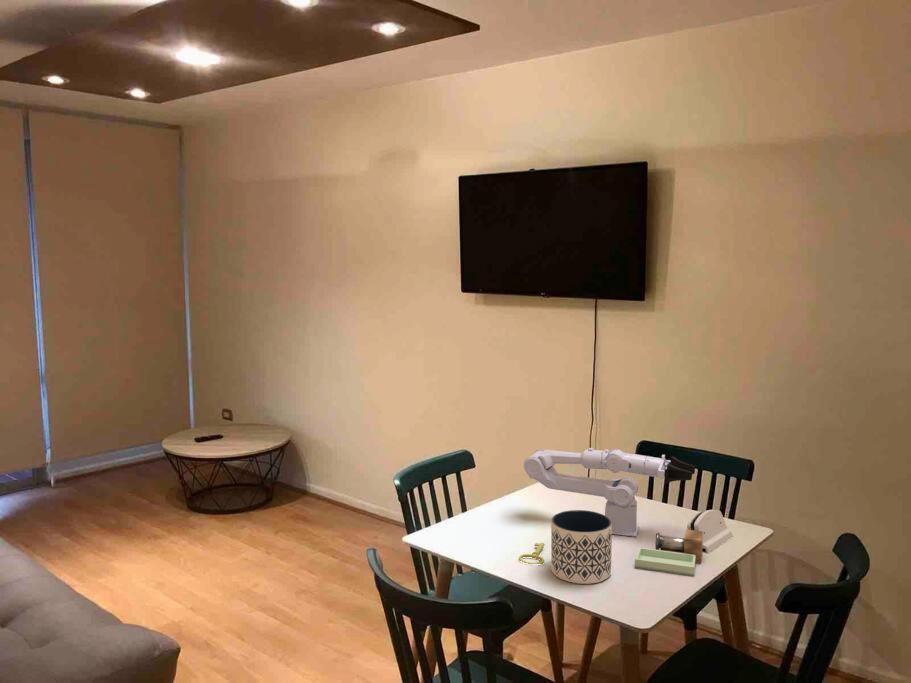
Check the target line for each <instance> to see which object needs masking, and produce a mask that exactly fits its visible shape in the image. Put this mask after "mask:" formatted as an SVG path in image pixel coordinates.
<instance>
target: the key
mask: <svg viewBox="0 0 911 683" xmlns="http://www.w3.org/2000/svg"><path fill="white" fill-rule="evenodd" d="M534 546H535V547H537V548H536V550H534V551H533V552H532V553H523V554H520V555H519V557H518V561H519V560H520V561H522V562H524V563H528V564H543V563H544V564H545V563H546V562H545V561H546V560H545V558H544V557H543V556H540V555H539V554H540V552H541V551H542V550H543V549H544V547H545V543H544V542H541V543H539V542H535V543H534ZM523 557H532V558H536V559H535V560H537V559H540V560H541V561H540V560H539V562H530V561H526V560H524V558H523ZM521 558H523V559H521ZM520 561H519V562H520ZM544 564H543V565H544Z"/></svg>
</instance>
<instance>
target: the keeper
mask: <svg viewBox="0 0 911 683" xmlns="http://www.w3.org/2000/svg"><path fill="white" fill-rule="evenodd" d="M683 538H684V551H677V550H670V549H662V548H659V550H662V551H670V552H677V553H685V554H692V555H696V563H695V564H699V565H700V564H702V558H703V557H702V556H703V549H702V539H703V531H696V530H688V529H687V528H686V529H685V532H684V537H683Z"/></svg>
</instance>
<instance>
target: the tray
mask: <svg viewBox="0 0 911 683" xmlns="http://www.w3.org/2000/svg"><path fill="white" fill-rule="evenodd" d="M635 556H636V557H635V560H634V563H635V564H634V568H635V569H639V570H646V571H652V572H653V571H654V572H660V573H661V572H662V573H666V574H667V573H668V574H674V575H681V576H682V575H683V576H690V577H694V576H695V570H696V564H697V563H696V555H692V554H685V553H677V552H670V551H662V550H660V549H659V550H656V549H652V548H646V547H638V550H637V553H636V555H635Z"/></svg>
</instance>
